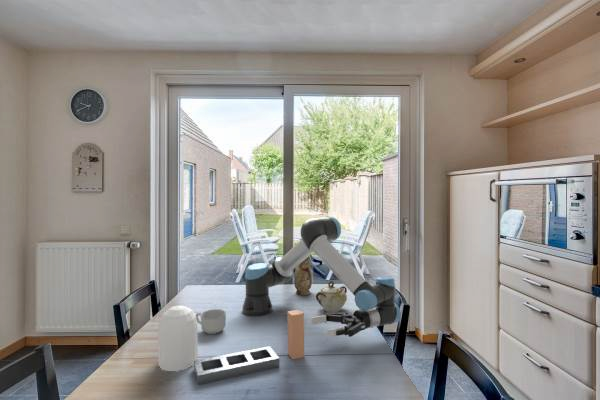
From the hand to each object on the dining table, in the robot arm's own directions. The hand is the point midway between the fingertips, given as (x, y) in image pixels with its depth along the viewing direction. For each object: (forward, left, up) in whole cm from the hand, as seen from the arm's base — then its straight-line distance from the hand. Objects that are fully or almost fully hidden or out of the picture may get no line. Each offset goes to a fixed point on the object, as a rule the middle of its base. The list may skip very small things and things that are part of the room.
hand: (318, 327), depth 131 cm
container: (-13, -50, -9) cm, 52 cm away
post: (0, -10, -9) cm, 13 cm away
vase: (-72, +26, -9) cm, 77 cm away
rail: (0, -31, -9) cm, 33 cm away
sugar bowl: (-38, +26, -9) cm, 47 cm away
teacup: (-37, -34, -9) cm, 51 cm away
